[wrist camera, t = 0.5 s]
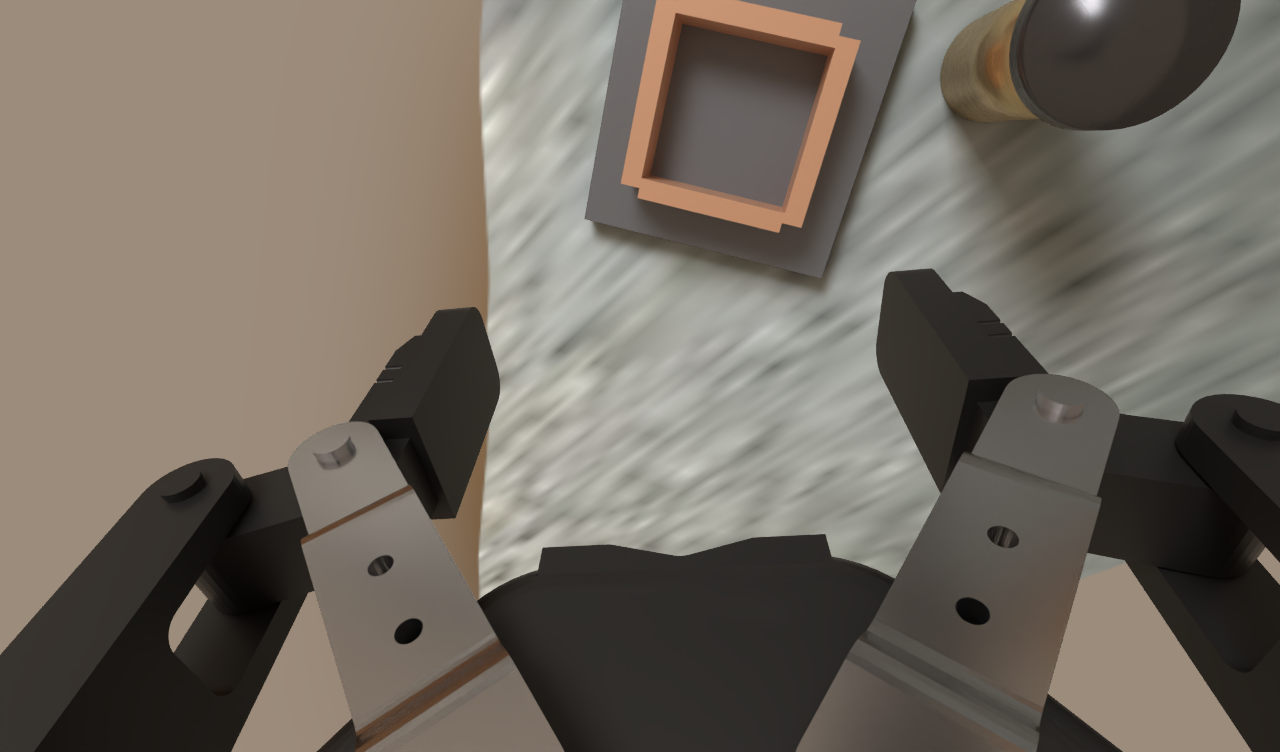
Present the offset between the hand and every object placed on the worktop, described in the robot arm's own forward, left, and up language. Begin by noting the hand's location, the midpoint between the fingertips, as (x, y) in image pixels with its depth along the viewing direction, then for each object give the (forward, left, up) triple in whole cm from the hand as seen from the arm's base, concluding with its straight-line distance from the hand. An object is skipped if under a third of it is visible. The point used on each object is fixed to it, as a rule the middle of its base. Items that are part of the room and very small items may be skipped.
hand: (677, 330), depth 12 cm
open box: (-5, -1, -25) cm, 25 cm away
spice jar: (-10, +11, -25) cm, 29 cm away
